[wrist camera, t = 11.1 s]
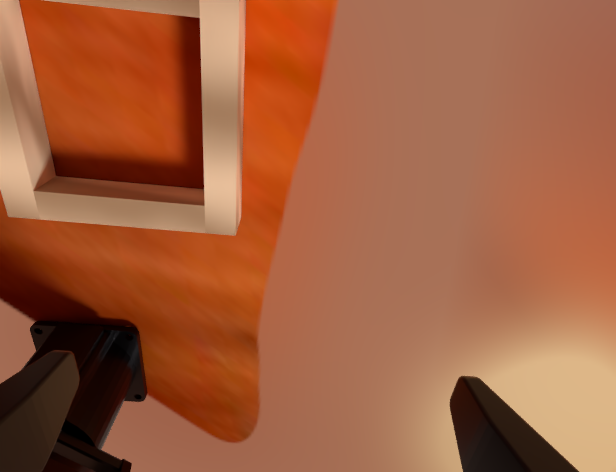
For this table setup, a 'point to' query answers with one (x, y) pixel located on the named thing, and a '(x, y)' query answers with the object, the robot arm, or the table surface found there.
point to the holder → (123, 195)
